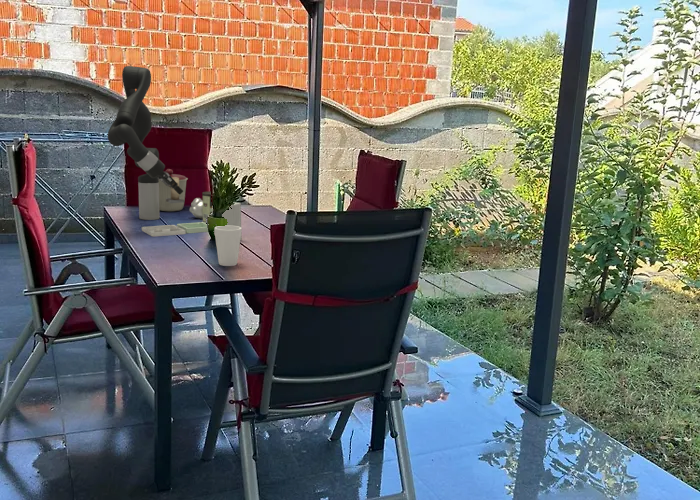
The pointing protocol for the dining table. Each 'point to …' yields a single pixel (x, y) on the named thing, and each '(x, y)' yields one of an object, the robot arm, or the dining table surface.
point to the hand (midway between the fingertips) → (179, 192)
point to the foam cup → (228, 244)
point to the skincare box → (233, 215)
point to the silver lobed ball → (197, 208)
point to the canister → (166, 193)
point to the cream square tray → (165, 230)
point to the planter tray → (193, 227)
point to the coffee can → (207, 205)
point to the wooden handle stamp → (175, 194)
